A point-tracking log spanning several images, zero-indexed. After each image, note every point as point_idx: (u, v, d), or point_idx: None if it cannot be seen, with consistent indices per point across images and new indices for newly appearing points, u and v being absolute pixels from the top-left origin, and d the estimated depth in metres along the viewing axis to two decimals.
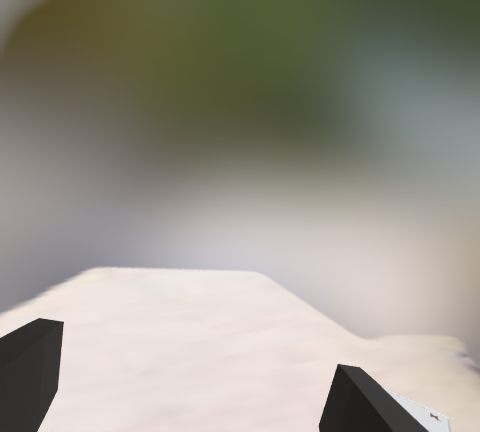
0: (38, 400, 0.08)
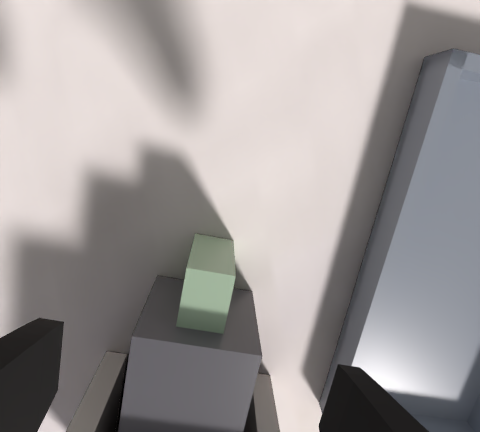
0: (38, 400, 0.08)
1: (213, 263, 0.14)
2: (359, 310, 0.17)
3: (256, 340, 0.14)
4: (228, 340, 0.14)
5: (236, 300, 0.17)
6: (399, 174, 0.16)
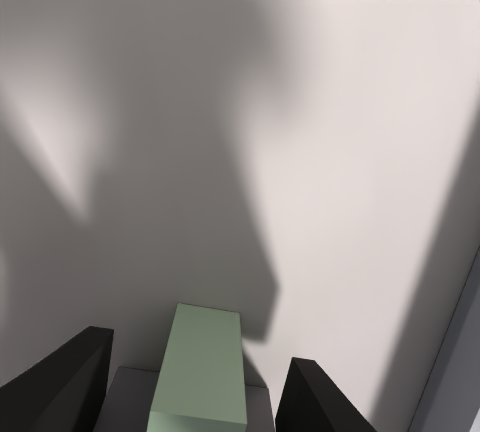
0: (93, 407, 0.08)
1: (204, 386, 0.08)
2: (442, 427, 0.11)
3: None
4: None
5: None
6: None
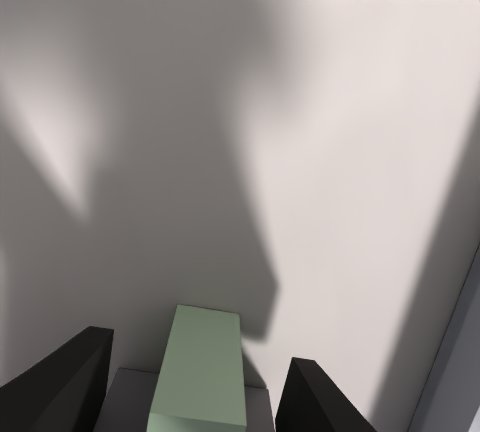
0: (93, 407, 0.08)
1: (204, 387, 0.08)
2: None
3: None
4: None
5: None
6: (470, 339, 0.10)
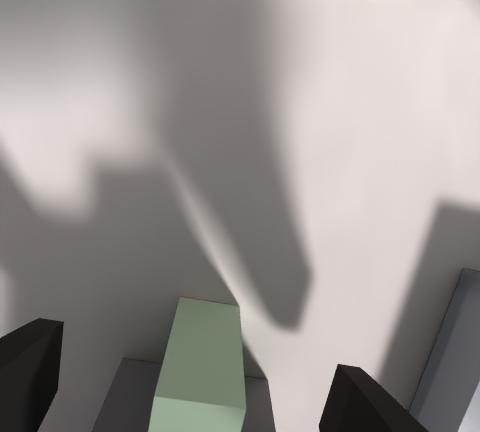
0: (38, 400, 0.08)
1: (205, 374, 0.08)
2: None
3: None
4: None
5: None
6: (426, 425, 0.11)
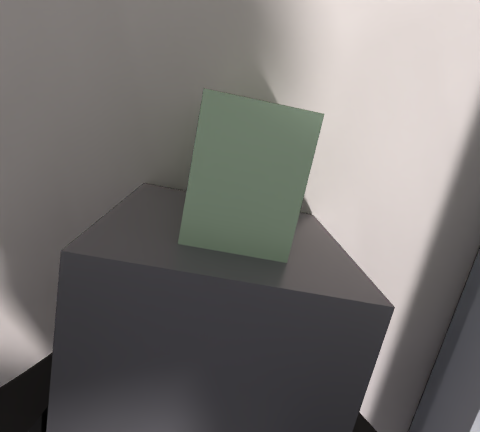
0: None
1: None
2: None
3: (363, 278, 0.06)
4: (302, 274, 0.06)
5: None
6: None
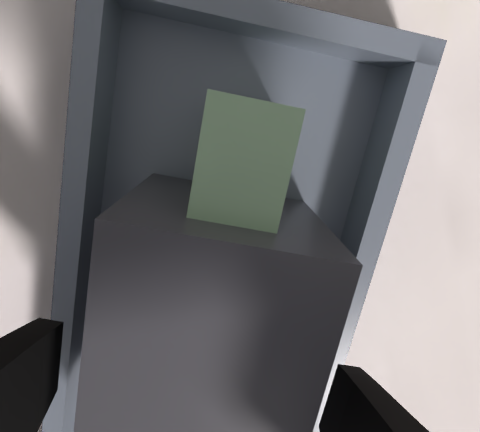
0: (38, 400, 0.08)
1: None
2: None
3: (340, 246, 0.07)
4: (289, 241, 0.07)
5: (283, 205, 0.10)
6: None
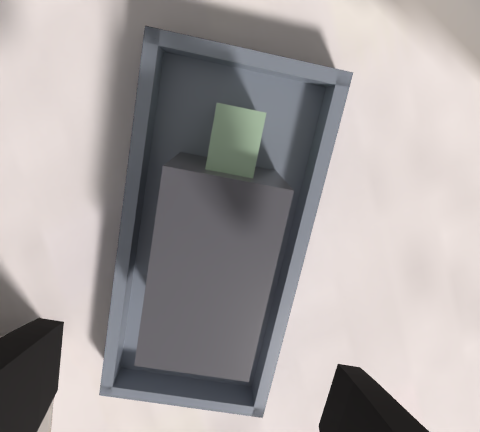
0: (38, 400, 0.08)
1: None
2: None
3: (286, 185, 0.14)
4: (258, 181, 0.13)
5: (261, 170, 0.16)
6: None
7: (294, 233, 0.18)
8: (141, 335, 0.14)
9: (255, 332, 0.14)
